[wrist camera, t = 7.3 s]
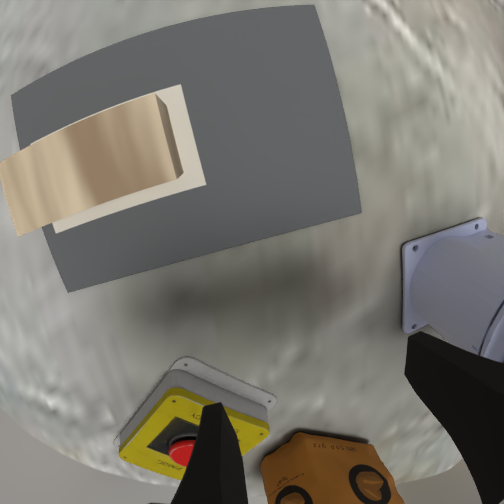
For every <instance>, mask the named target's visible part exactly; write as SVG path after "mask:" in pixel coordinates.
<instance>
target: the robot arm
mask: <svg viewBox="0 0 504 504" xmlns="http://www.w3.org/2000/svg"><path fill="white" fill-rule="evenodd" d="M486 229H487V222H486V219H485V218H478V219H475V220H473V221H470V222H467V223H464V224H461V225H458V226H455V227H452V228H449V229H446V230H443V231H440V232H437V233H434V234H431V235H428V236H425V237H422V238H419V239H416V240H413V241H410V242H407V243H405V244H404V246H403V248H402V258H403V326H402V329H403V331H404V332H405V333H406V334H408V333H410V332H413V331H415V330H417V329H419V328H422V327H424V326H426V325H428V324H429V325H430V326H431V327H432V328H434V329H435V330H436V331H437V332H438V333H439V334H440V335H441V336H442V337H443V338H444V339H446V340H447V341H448V342H449V343H447V342H445V341H443V340H440V339H438V338H436V337H434V336H431V335H429V334H426V333H424V332H421V331H420V332H418V333H416V334H413V335H411V336H409V337H408V345H407V355H406V365H405V373H404V374H405V376H406V378H407V379H408V381H409V383H410V384H411V386H412V388H413V389H414V391H415V392H416V394H417V395H418V396H419V398H420V399H421V400H422V401H423V403H424V404H425V405H426V406H427V407H428V409H429V410H430V411H431V412H432V413H433V415H434V416H435V417H436V418H437V420H438V421H439V422H440V423H441V424H442V426H443V427H444V428H445V429H446V431H447V432H448V434H449V435H450V436H451V438H452V440H453V441H454V443H455V445H456V446H457V448H458V450H459V451H460V453H461V455H462V457H463V459H464V461H465V462H466V464H467V466H468V469H469V470H470V473H471V475H472V477H473V479H474V482H475V484H476V487H477V489H478V492H479V495H480V497H481V501H482V504H499V503H500V502H501V501H502V500H504V237H503V236H501V235H498V234H496V233H494V232H491V231H489V230H486ZM414 246H415V249H414V250H413V247H414ZM171 504H248V498H247V490H246V483H245V475H244V467H243V459H242V455H241V450H240V446H239V442H238V438H237V434H236V432H235V430H234V428H233V426H232V424H231V422H230V420H229V417H228V415H227V413H226V411H225V409H224V407H223V405H222V402H219V403H214V404H210V405H206V406H204V407H203V408H202V414H201V419H200V424H199V428H198V432H197V436H196V440H195V443H194V446H193V450H192V453H191V456H190V459H189V462H188V465H187V467H186V470H185V473H184V475H183V478H182V480H181V483H180V485H179V487H178V489H177V492H176V494H175V496H174V498H173V500H172V502H171Z"/></svg>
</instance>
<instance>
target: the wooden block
mask: <svg viewBox="0 0 504 504" xmlns="http://www.w3.org/2000/svg"><path fill="white" fill-rule="evenodd" d="M183 173H184V171H183V167H182V164H181V160H180V156H179V152H178V148H177V145H176V141H175V137H174V133H173V129H172V125H171V121H170V117H169V113H168V109H167V105H166V104H165V103H164V102H163V101H162V100H161V99H160V98H159V97H158V96H157V95H156V94H155V93H153V94H150V95H147V96H144V97H141V98H138V99H135V100H132V101H130V102H127V103H124V104H121V105H119V106H116V107H113V108H111V109H108V110H106V111H103V112H101V113H98V114H96V115H93V116H91V117H88V118H86V119H84V120H81V121H79V122H77V123H75V124H72V125H70V126H68V127H66V128H64V129H62V130H59V131H57V132H55V133H53V134H51V135H49V136H47V137H45V138H43V139H41V140H39V141H37V142H35V143H34V144H32V145H30V146H28V147H26V148H24V149H23V150H21V151H19V152H17V153H15V154H14V155H12V156H10V157H8V158H7V159H5V160H3V161H2V162H0V178H1V182H2V186H3V190H4V194H5V197H6V201H7V204H8V208H9V211H10V214H11V217H12V220H13V224H14V227H15V230H16V232H17V235H18V237H19V236H21V235H24V234H26V233H28V232H31V231H33V230H35V229H38V228H40V227H43V226H45V225H47V224H50V223H52V222H55V221H57V220H60V219H62V218H65V217H67V216H70V215H73V214H75V213H78V212H81V211H83V210H86V209H89V208H91V207H94V206H97V205H100V204H103V203H105V202H108V201H111V200H114V199H117V198H120V197H123V196H126V195H129V194H132V193H135V192H138V191H141V190H144V189H147V188H150V187H154V186H157V185H160V184H163V183H167V182H170V181H173V180H177V179H178V178H179V177H180V176H181V175H182V174H183Z"/></svg>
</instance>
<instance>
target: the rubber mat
mask: <svg viewBox="0 0 504 504" xmlns="http://www.w3.org/2000/svg"><path fill="white" fill-rule="evenodd" d="M153 93H155V94H156V95H157V96H158V97H159V98H160V99H161V100H162V101H163V102H164V103H165V104H166V105H167V109H168V113H169V117H170V121H171V125H172V129H173V133H174V137H175V141H176V145H177V148H178V152H179V156H180V160H181V164H182V167H183V171H184V173H183V174H182V175H181V176H180V177H179V178H178V179H177V180H173V181H170V182H167V183H163V184H160V185H157V186H154V187H150V188H147V189H144V190H141V191H138V192H135V193H132V194H129V195H126V196H123V197H120V198H117V199H114V200H111V201H108V202H105V203H103V204H100V205H97V206H94V207H91V208H89V209H86V210H83V211H81V212H78V213H75V214H73V215H70V216H67V217H65V218H62V219H60V220H57V221H55V222H52V223H50V224H47V225H45V226H43V227H42V229H43V232H44V235H45V237H46V240H47V243H48V246H49V248H50V251H51V254H52V256H53V259H54V261H55V264H56V266H57V269H58V271H59V273H60V276H61V278H62V280H63V283H64V285H65V287H66V290H67V292H68V293H69V292H72V291H76V290H79V289H83V288H87V287H90V286H94V285H97V284H101V283H104V282H108V281H111V280H115V279H119V278H122V277H126V276H129V275H133V274H137V273H140V272H144V271H147V270H151V269H155V268H158V267H162V266H165V265H169V264H173V263H176V262H180V261H184V260H187V259H191V258H195V257H198V256H202V255H206V254H209V253H213V252H217V251H220V250H224V249H228V248H231V247H235V246H239V245H243V244H246V243H250V242H254V241H257V240H261V239H265V238H269V237H272V236H276V235H280V234H284V233H287V232H291V231H295V230H299V229H303V228H306V227H310V226H314V225H318V224H322V223H325V222H329V221H333V220H337V219H341V218H345V217H348V216H352V215H356V214H360V213H362V210H361V203H360V196H359V189H358V182H357V176H356V170H355V164H354V158H353V153H352V147H351V142H350V137H349V132H348V127H347V122H346V118H345V113H344V109H343V104H342V100H341V96H340V92H339V87H338V83H337V80H336V76H335V72H334V68H333V64H332V61H331V57H330V54H329V50H328V47H327V43H326V40H325V37H324V33H323V30H322V27H321V24H320V21H319V18H318V15H317V12H316V9H315V6H314V5H295V6H280V7H269V8H260V9H252V10H245V11H238V12H231V13H226V14H220V15H215V16H210V17H205V18H200V19H196V20H191V21H187V22H183V23H179V24H175V25H171V26H168V27H164V28H161V29H157V30H154V31H151V32H147V33H144V34H141V35H138V36H135V37H132V38H129V39H126V40H124V41H121V42H118V43H116V44H113V45H110V46H108V47H105V48H103V49H100V50H98V51H95V52H93V53H91V54H88V55H86V56H84V57H82V58H79V59H77V60H75V61H73V62H71V63H69V64H67V65H65V66H63V67H61V68H59V69H57V70H55V71H53V72H51V73H49V74H47V75H45V76H43V77H41V78H40V79H38V80H36V81H34V82H33V83H31V84H29V85H27V86H26V87H24V88H22V89H21V90H19V91H17V92H16V93H14V94H13V95H11V99H12V106H13V113H14V119H15V125H16V131H17V136H18V141H19V146H20V151H21V150H23V149H24V148H26V147H28V146H30V145H32V144H34V143H35V142H37V141H39V140H41V139H43V138H45V137H47V136H49V135H51V134H53V133H55V132H57V131H59V130H62V129H64V128H66V127H68V126H70V125H72V124H75V123H77V122H79V121H81V120H84V119H86V118H88V117H91V116H93V115H96V114H98V113H101V112H103V111H106V110H108V109H111V108H113V107H116V106H119V105H121V104H124V103H127V102H130V101H132V100H135V99H138V98H141V97H144V96H147V95H150V94H153Z"/></svg>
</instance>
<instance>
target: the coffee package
mask: <svg viewBox="0 0 504 504" xmlns="http://www.w3.org/2000/svg"><path fill="white" fill-rule="evenodd" d="M260 469H261V473H262V477H263V482H264V489H265V492H266V496H267V501H268V504H404V501H403V499H402V497H401V496H400V495H399V494H398V492H397V489H396V487H395V483H394V479H393V477H392V475H391V474H390V472H389V471H388V469H387V468H386V467H385V465H384V464H383V462H382V461H381V460H380V458H379V456H378V454H377V452H376V450H375V448H374V446H373V445H372V444H363V443H358V442H351V441H346V440H341V439H336V438H331V437H324V436H317V435H309V434H305V433H301V432H298V433H296V434H294V435H293V437H292V439H291V440H290V441H289V442H287V443H285V444H283V445H281V447H280V448H278V449H277V450H276V451H275V452H273V453H271V454H269V455H267V456H265V457H264V460H263V461H262V462H261V464H260Z"/></svg>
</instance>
